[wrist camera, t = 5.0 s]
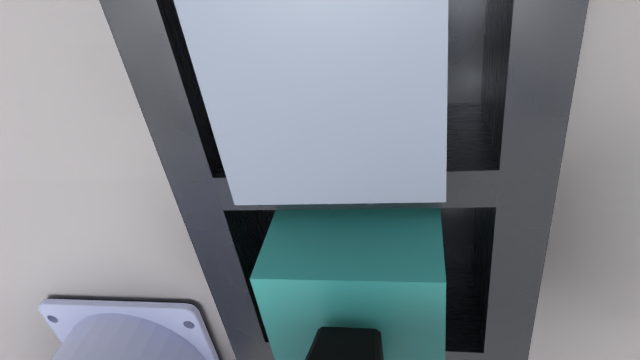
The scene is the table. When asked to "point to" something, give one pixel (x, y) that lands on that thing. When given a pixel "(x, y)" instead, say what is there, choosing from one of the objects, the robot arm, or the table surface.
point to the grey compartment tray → (456, 213)
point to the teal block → (354, 279)
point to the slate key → (324, 97)
